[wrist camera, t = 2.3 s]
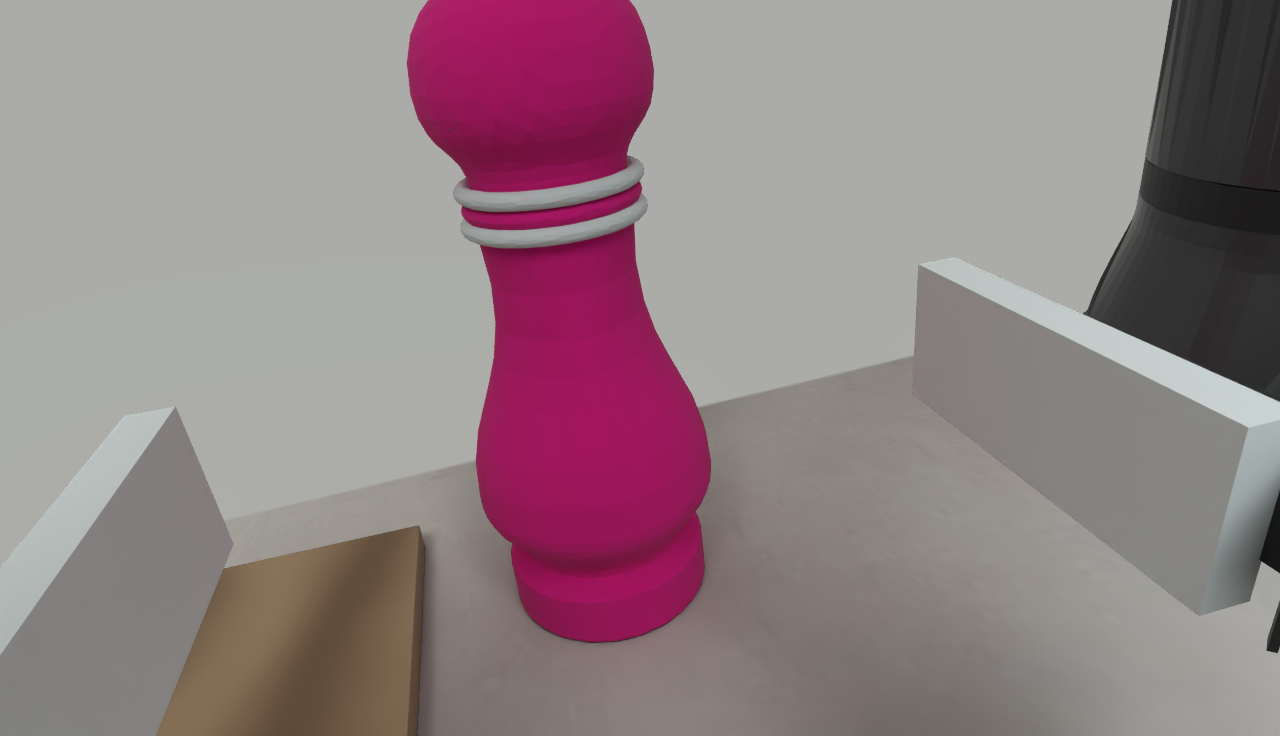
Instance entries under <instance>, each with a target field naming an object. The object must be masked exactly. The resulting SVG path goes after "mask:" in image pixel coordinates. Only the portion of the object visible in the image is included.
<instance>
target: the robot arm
mask: <svg viewBox="0 0 1280 736" xmlns="http://www.w3.org/2000/svg"><path fill="white" fill-rule="evenodd" d="M1145 155H1146V157H1145V163H1144V169H1143V175H1142V181H1141V186H1140V190H1139V195H1138V201H1137V206H1136V210H1135V214H1134V216H1133V219H1132V220H1131V222H1130V224H1129V226H1128V228H1127V230H1126V232H1125V234H1124V235H1123V237H1122V239H1121V241H1120V243H1119V244H1118V246H1117V248H1116V250H1115V252H1114V254H1113V256H1112V257H1111V259H1110V261H1109V263H1108V265H1107V267H1106V269H1105V271H1104V273H1103V275H1102V277H1101V279H1100V281H1099V283H1098V286H1097V288H1096V290H1095V292H1094V295H1093V297H1092V300H1091V302H1090V305H1089V308H1088V310H1087V311H1086V312H1084V313H1083V314H1081V313H1079V312H1077V311H1074V310H1072V309H1070V308H1068V307H1066V306H1063V305H1061V304H1059V303H1057V302H1054V301H1052V300H1050V299H1048V298H1045V297H1043V296H1041V295H1039V294H1036V293H1034V292H1032V291H1030V290H1027V289H1025V288H1023V287H1021V286H1018V285H1016V284H1014V283H1012V282H1010V281H1007V280H1005V279H1003V278H1000V277H998V276H996V275H994V274H992V273H989V272H987V271H985V270H983V269H980V268H978V267H976V266H974V265H971V264H969V263H967V262H965V261H962V260H960V259H958V258H956V257H954V258H948V259H944V260H938V261H933V262H927V263H922V264H919V265H918V286H917V307H916V308H917V309H916V329H915V350H914V370H913V392H912V394H914V395H915V396H916V397H917V398H919V399H920V400H921V401H923V402H924V403H925V404H926V405H928V406H929V407H930V408H932V409H933V410H934V411H935V412H937V413H938V414H939V415H941V416H942V417H943V418H944V419H946V420H947V421H948V422H950V423H951V424H952V425H954V426H955V427H956V428H957V429H959V430H960V431H961V432H963V433H964V434H965V435H966V436H968V437H969V438H970V439H972V440H973V441H974V442H975V443H977V444H978V445H979V446H981V447H982V448H983V449H984V450H986V451H987V452H988V453H990V454H991V455H992V456H993V457H995V458H996V459H997V460H999V461H1000V462H1001V463H1002V464H1004V465H1005V466H1006V467H1008V468H1009V469H1010V470H1011V471H1013V472H1014V473H1015V474H1017V475H1018V476H1019V477H1020V478H1022V479H1023V480H1024V481H1026V482H1027V483H1028V484H1029V485H1031V486H1032V487H1033V488H1035V489H1036V490H1037V491H1039V492H1040V493H1041V494H1042V495H1044V496H1045V497H1046V498H1048V499H1049V500H1050V501H1051V502H1053V503H1054V504H1055V505H1057V506H1058V507H1059V508H1060V509H1062V510H1063V511H1064V512H1066V513H1067V514H1068V515H1069V516H1071V517H1072V518H1073V519H1075V520H1076V521H1077V522H1078V523H1080V524H1081V525H1082V526H1084V527H1085V528H1086V529H1087V530H1089V531H1090V532H1091V533H1093V534H1094V535H1095V536H1096V537H1098V538H1099V539H1100V540H1102V541H1103V542H1104V543H1105V544H1107V545H1108V546H1109V547H1111V548H1112V549H1113V550H1115V551H1116V552H1117V553H1118V554H1120V555H1121V556H1122V557H1124V558H1125V559H1126V560H1127V561H1129V562H1130V563H1131V564H1133V565H1134V566H1135V567H1136V568H1138V569H1139V570H1140V571H1142V572H1143V573H1144V574H1145V575H1147V576H1148V577H1149V578H1151V579H1152V580H1153V581H1154V582H1156V583H1157V584H1158V585H1160V586H1161V587H1162V588H1163V589H1165V590H1166V591H1167V592H1169V593H1170V594H1171V595H1172V596H1174V597H1175V598H1176V599H1178V600H1179V601H1180V602H1181V603H1183V604H1184V605H1185V606H1187V607H1188V608H1189V609H1190V610H1192V611H1193V612H1194V613H1196V614H1197V615H1198V616H1200V615H1204V614H1207V613H1211V612H1214V611H1217V610H1221V609H1224V608H1228V607H1231V606H1235V605H1238V604H1241V603H1245V602H1248V601H1250V598H1251V594H1252V591H1253V588H1254V584H1255V581H1256V578H1257V574H1258V571H1259V568H1260V564H1261V561H1262V562H1263V563H1265V564H1266V565H1268V566H1270V567H1271V568H1273V569H1274V570H1276V571H1277V572H1279V573H1280V0H1173V1H1172V7H1171V13H1170V19H1169V25H1168V31H1167V37H1166V43H1165V50H1164V55H1163V60H1162V66H1161V71H1160V77H1159V82H1158V88H1157V93H1156V99H1155V104H1154V110H1153V115H1152V121H1151V127H1150V132H1149V137H1148V143H1147V149H1146V154H1145ZM232 546H233V542H232V539H231V537H230V535H229V532H228V530H227V527H226V525H225V523H224V520H223V518H222V516H221V513H220V511H219V508H218V506H217V504H216V501H215V499H214V497H213V494H212V492H211V489H210V487H209V485H208V482H207V480H206V477H205V475H204V473H203V471H202V468H201V466H200V463H199V461H198V458H197V456H196V454H195V451H194V449H193V446H192V444H191V442H190V439H189V437H188V435H187V432H186V430H185V427H184V425H183V423H182V420H181V418H180V416H179V413H178V411H177V408H176V407H170V408H164V409H159V410H154V411H149V412H144V413H138V414H133V415H128V416H124V417H123V418H122V419H121V421H120V422H119V423H118V424H117V426H116V427H115V428H114V429H113V430H112V432H111V433H110V434H109V435H108V437H107V438H106V439H105V440H104V442H103V443H102V444H101V445H100V446H99V448H98V449H97V450H96V451H95V453H94V454H93V455H92V456H91V457H90V458H89V460H88V461H87V462H86V463H85V465H84V466H83V467H82V468H81V469H80V471H79V472H78V473H77V474H76V476H75V477H74V478H73V479H72V480H71V482H70V483H69V484H68V485H67V487H66V488H65V489H64V490H63V491H62V493H61V494H60V495H59V496H58V498H57V499H56V500H55V501H54V502H53V504H52V505H51V506H50V507H49V508H48V510H47V511H46V512H45V513H44V515H43V516H42V517H41V518H40V519H39V521H38V522H37V523H36V525H35V526H34V527H33V528H32V529H31V530H30V532H29V533H28V534H27V535H26V537H25V538H24V539H23V540H22V541H21V543H20V544H19V545H18V546H17V548H16V549H15V550H14V551H13V553H12V554H11V555H10V556H9V557H8V559H7V560H6V561H5V562H4V563H3V565H2V566H1V567H0V736H156V734H157V731H158V729H159V726H160V724H161V721H162V719H163V717H164V714H165V712H166V709H167V707H168V704H169V702H170V699H171V697H172V694H173V692H174V689H175V687H176V684H177V682H178V679H179V677H180V675H181V672H182V670H183V667H184V665H185V662H186V660H187V657H188V655H189V652H190V650H191V647H192V645H193V642H194V640H195V637H196V635H197V633H198V630H199V628H200V625H201V623H202V620H203V618H204V615H205V613H206V610H207V608H208V605H209V603H210V600H211V598H212V595H213V593H214V591H215V588H216V586H217V583H218V581H219V578H220V576H221V573H222V571H223V568H224V566H225V563H226V561H227V558H228V556H229V553H230V551H231V549H232ZM1279 647H1280V602H1279V605H1278V608H1277V611H1276V614H1275V617H1274V620H1273V623H1272V627H1271V630H1270V633H1269V636H1268V640H1267V651H1270V652H1275V653H1278V650H1279Z"/></svg>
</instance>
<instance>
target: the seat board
mask: <svg viewBox="0 0 1280 736" xmlns="http://www.w3.org/2000/svg"><path fill="white" fill-rule="evenodd" d="M424 565H425V545H424V541H423V538H422V534H421V531H420V527H419V526H414V527H410V528H405V529H401V530H396V531H392V532H387V533H383V534H378V535H374V536H369V537H365V538H360V539H356V540H351V541H347V542H342V543H338V544H333V545H329V546H324V547H320V548H315V549H311V550H306V551H302V552H297V553H293V554H288V555H284V556H279V557H275V558H270V559H266V560H261V561H257V562H252V563H248V564H243V565H239V566H234V567H230V568H225V569H223V571H222V573H221V576H220V578H219V581H218V583H217V586H216V588H215V591H214V593H213V595H212V598H211V600H210V603H209V605H208V608H207V610H206V613H205V615H204V618H203V620H202V623H201V625H200V628H199V630H198V633H197V635H196V637H195V640H194V642H193V645H192V647H191V650H190V652H189V655H188V657H187V660H186V662H185V665H184V667H183V670H182V672H181V675H180V677H179V679H178V682H177V684H176V687H175V689H174V692H173V694H172V697H171V699H170V702H169V704H168V707H167V709H166V712H165V714H164V717H163V719H162V721H161V724H160V726H159V729H158V731H157V734H156V736H417V731H418V707H419V683H420V660H421V636H422V612H423V589H424Z"/></svg>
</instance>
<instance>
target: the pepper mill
mask: <svg viewBox="0 0 1280 736" xmlns="http://www.w3.org/2000/svg"><path fill="white" fill-rule="evenodd" d="M407 68H408V77H409V86H410V95H411V98H412V101H413V104H414V108H415V111H416V114H417V117H418V120H419V121H420V123H421V125H422V126H423V128H424V130H425V131H426V133H427V135H428V136H429V137H430V138H431V140H433V142H434V143H435V144H436V145H437V146H438V147H440V148H441V149H442V150H443V151H444V152H445V153H446V154H448V155H449V156H450V157H451V158H452V159H453V160H454V161H455V162H456V163H457V164H458V165H459V166H460V167H461V169H462V171H463V173H464V174H465V176H466V178H464V179H463V180H462V181H460V182H459V183H458V184H457V185H456V186H455V188H454V190H453V194H454V198H455V200H456V202H458V203H459V204H461V205H462V209H461V211H462V212H461V213H462V216H463V217H464V219H463V220H462V222H461V232H462V234H463V235H464V236H465V238H467V239H468V240H470V241H472V242H474V243H477V244H479V245H480V247H481V250H482V254H483V257H484V261H485V264H486V268H487V271H488V275H489V278H490V282H491V287H492V296H493V304H494V313H495V321H496V326H495V346H494V348H495V349H494V359H493V366H492V371H491V376H490V382H489V386H488V390H487V394H486V399H485V403H484V408H483V412H482V417H481V421H480V425H479V430H478V440H477V454H476V467H477V475H478V482H479V490H480V497H481V501H482V505H483V509H484V511H485V513H486V516H487V518H488V519H489V521H490V522H491V524H492V525H493V526H494V528H495V529H496V530H497V531H498V532H499V533H500V534H501V535H502V536H503V537H504V538H505V539H507V540H508V541H510V542H511V543H513V545H512V550H511V556H512V564H513V569H514V573H515V577H516V582H517V586H518V590H519V595H520V598H521V601H522V604H523V606H524V608H525V609H526V611H527V612H528V614H529V615H530V616H531V617H532V619H533V620H534V621H536V622H537V623H538V624H540V625H541V626H542V627H544V628H545V629H547V630H549V631H551V632H553V633H555V634H557V635H560V636H562V637H565V638H570V639H575V640H581V641H586V642H609V641H620V640H624V639H628V638H632V637H637V636H641V635H643V634H645V633H648V632H650V631H652V630H654V629H656V628H658V627H661V626H663V625H665V624H667V623H668V622H669V621H671V620H672V619H673V618H674V617H676V616H677V615H678V614H679V613H681V612H682V611H683V610H684V609H685V608H686V607H687V605H688V604H689V603H690V602H691V601H692V600H693V598H694V597H695V595H696V593H697V592H698V590H699V588H700V586H701V583H702V579H703V575H704V568H705V565H704V554H703V544H702V534H701V525H700V521H699V518H698V516H697V514H696V512H695V511H696V510H697V508H698V507H699V506H700V504H701V503H702V500H703V498H704V496H705V494H706V491H707V488H708V485H709V482H710V474H711V459H710V453H709V448H708V442H707V436H706V431H705V428H704V424H703V421H702V418H701V416H700V413H699V411H698V408H697V406H696V403H695V401H694V398H693V396H692V394H691V392H690V390H689V389H688V387H687V385H686V384H685V382H684V380H683V378H682V377H681V375H680V373H679V372H678V370H677V368H676V367H675V365H674V363H673V361H672V360H671V358H670V356H669V354H668V353H667V351H666V349H665V347H664V345H663V343H662V342H661V340H660V338H659V336H658V334H657V332H656V330H655V328H654V325H653V322H652V320H651V317H650V315H649V312H648V309H647V307H646V304H645V301H644V298H643V293H642V288H641V283H640V278H639V274H638V269H637V265H636V256H635V233H634V222H636V221H638V220H639V219H640V218H641V217H642V216H643V215H644V214H645V213H646V211H647V207H648V203H647V199H646V197H645V196H644V195H643V194H642V193H641V192H642V186H641V183H640V182H639V181H640V180H641V178H642V176H643V174H644V167H643V164H642V163H641V162H640V161H639V160H638V159H636V158H633V157H631V156H627V151H628V147H629V144H630V142H631V139H632V137H633V135H634V133H635V132H636V130H637V128H638V127H639V125H640V123H641V122H642V120H643V119H644V117H645V115H646V113H647V110H648V108H649V106H650V104H651V98H652V92H653V78H654V68H653V62H652V56H651V50H650V45H649V42H648V39H647V35H646V32H645V28H644V26H643V24H642V21H641V19H640V17H639V15H638V13H637V10H636V8H635V7H634V6H633V4H632V3H631V2H630V1H629V0H429V1H427V3H426V4H425V6H424V7H423V8H422V10H421V11H420V13H419V15H418V17H417V20H416V22H415V25H414V27H413V30H412V32H411V35H410V42H409V50H408V59H407Z"/></svg>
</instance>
